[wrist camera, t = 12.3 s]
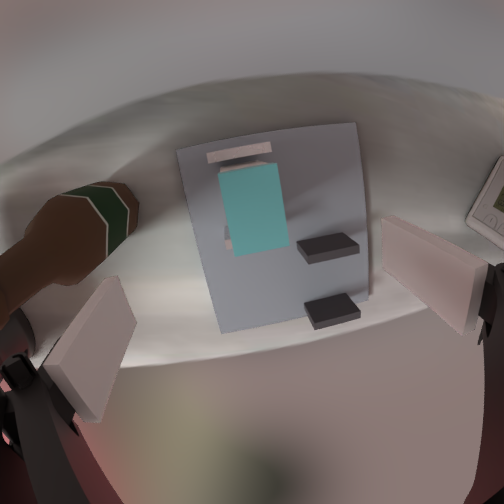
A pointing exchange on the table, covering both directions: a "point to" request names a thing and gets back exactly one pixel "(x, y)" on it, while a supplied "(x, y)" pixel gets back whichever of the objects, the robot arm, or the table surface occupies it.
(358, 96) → the table surface
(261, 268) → the panel
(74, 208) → the beer bottle
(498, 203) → the digital clock
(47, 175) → the table surface
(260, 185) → the white and teal box
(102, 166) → the table surface
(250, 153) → the port
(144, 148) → the table surface
